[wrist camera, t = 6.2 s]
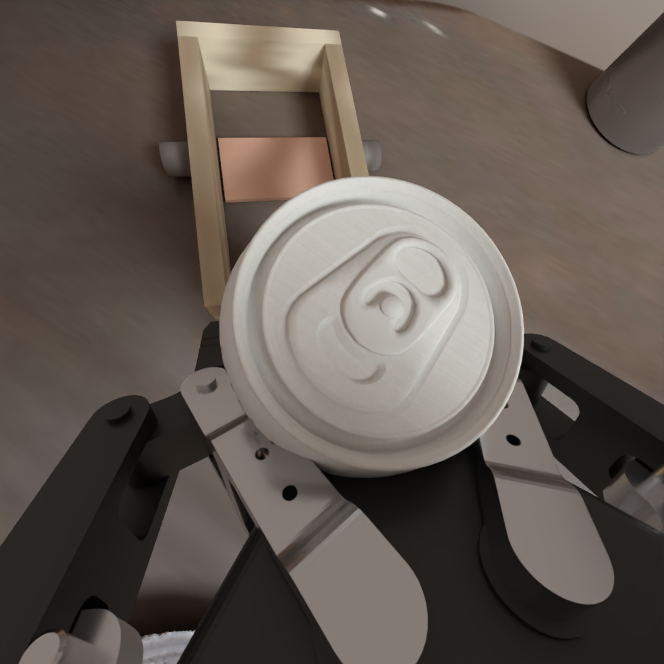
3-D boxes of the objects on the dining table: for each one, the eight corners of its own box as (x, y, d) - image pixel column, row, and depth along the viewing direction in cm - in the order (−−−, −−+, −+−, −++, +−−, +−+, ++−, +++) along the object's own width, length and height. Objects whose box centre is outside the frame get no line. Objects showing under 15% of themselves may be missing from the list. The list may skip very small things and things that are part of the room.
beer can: (242, 372, 19) (115, 309, 4) (308, 307, 21) (371, 102, 6) (312, 438, 19) (414, 593, 4) (372, 368, 20) (595, 308, 6)
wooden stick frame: (353, 81, 25) (365, 32, 22) (400, 299, 22) (422, 282, 18) (163, 75, 22) (141, 18, 19) (184, 325, 19) (163, 311, 16)
